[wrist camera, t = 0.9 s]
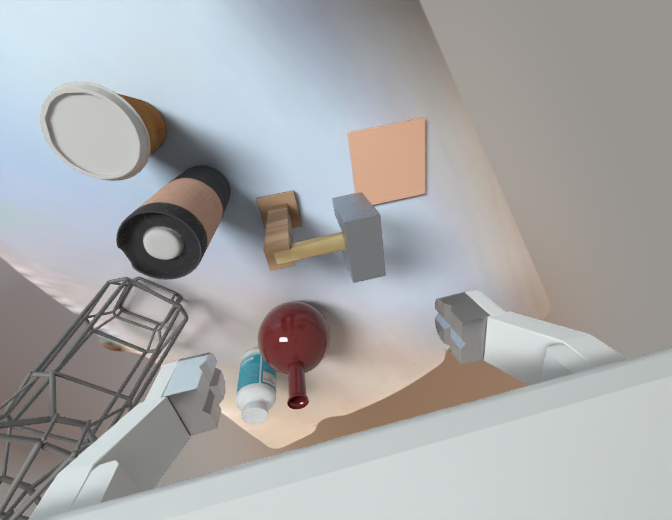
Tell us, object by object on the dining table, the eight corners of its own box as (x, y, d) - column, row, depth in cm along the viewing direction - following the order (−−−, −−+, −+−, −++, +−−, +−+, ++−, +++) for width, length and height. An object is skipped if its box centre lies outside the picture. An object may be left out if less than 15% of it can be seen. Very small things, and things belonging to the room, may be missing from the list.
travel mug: (239, 178, 45) (214, 231, 28) (221, 220, 48) (188, 291, 31) (188, 153, 42) (125, 194, 25) (172, 198, 45) (105, 263, 28)
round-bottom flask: (276, 278, 55) (273, 362, 38) (336, 299, 60) (358, 382, 43) (250, 328, 60) (237, 422, 43) (307, 344, 65) (317, 434, 48)
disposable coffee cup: (116, 66, 36) (51, 55, 26) (191, 118, 40) (160, 127, 30) (89, 132, 39) (20, 146, 29) (161, 174, 43) (124, 200, 33)
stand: (256, 198, 47) (246, 241, 33) (350, 178, 48) (377, 213, 34) (267, 231, 50) (262, 283, 36) (354, 212, 51) (382, 256, 37)
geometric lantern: (169, 344, 59) (41, 608, 29) (83, 308, 52) (-201, 600, 22) (211, 292, 54) (110, 541, 24) (122, 245, 48) (-170, 507, 17)
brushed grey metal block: (332, 198, 38) (343, 222, 31) (361, 191, 38) (380, 214, 31) (341, 250, 42) (353, 282, 35) (368, 244, 43) (385, 275, 35)
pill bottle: (239, 369, 65) (231, 429, 54) (243, 345, 62) (234, 403, 50) (273, 370, 67) (272, 428, 56) (279, 347, 64) (278, 403, 52)
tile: (347, 132, 44) (348, 133, 44) (422, 117, 45) (425, 117, 44) (357, 206, 51) (358, 208, 50) (423, 192, 51) (425, 193, 51)
